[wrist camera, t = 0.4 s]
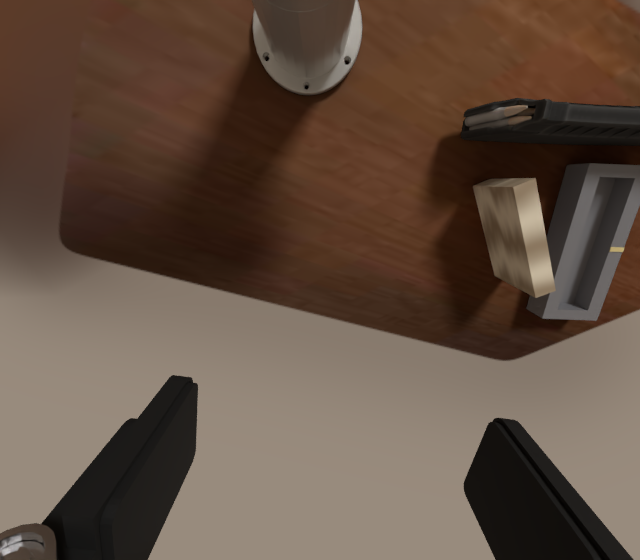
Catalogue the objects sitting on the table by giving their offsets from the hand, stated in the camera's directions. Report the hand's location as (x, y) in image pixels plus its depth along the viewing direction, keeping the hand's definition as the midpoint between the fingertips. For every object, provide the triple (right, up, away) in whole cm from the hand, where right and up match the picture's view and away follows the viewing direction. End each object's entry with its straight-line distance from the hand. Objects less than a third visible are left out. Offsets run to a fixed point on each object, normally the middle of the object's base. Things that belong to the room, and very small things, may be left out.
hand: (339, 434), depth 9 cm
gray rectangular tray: (+36, +10, +33) cm, 50 cm away
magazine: (+32, +24, +29) cm, 49 cm away
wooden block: (+24, +12, +33) cm, 42 cm away
